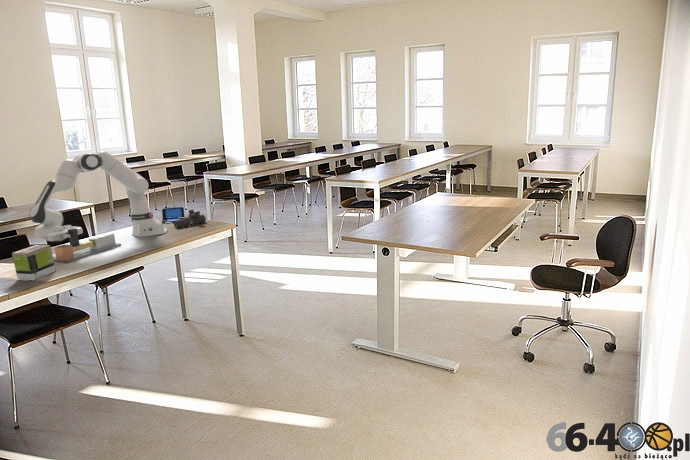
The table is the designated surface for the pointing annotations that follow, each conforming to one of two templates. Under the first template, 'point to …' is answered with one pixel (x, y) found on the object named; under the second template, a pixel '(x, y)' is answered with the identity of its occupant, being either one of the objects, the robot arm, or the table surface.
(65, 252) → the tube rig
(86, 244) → the hammer
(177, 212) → the handheld game console
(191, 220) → the laser sight
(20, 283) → the table surface
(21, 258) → the tea box
